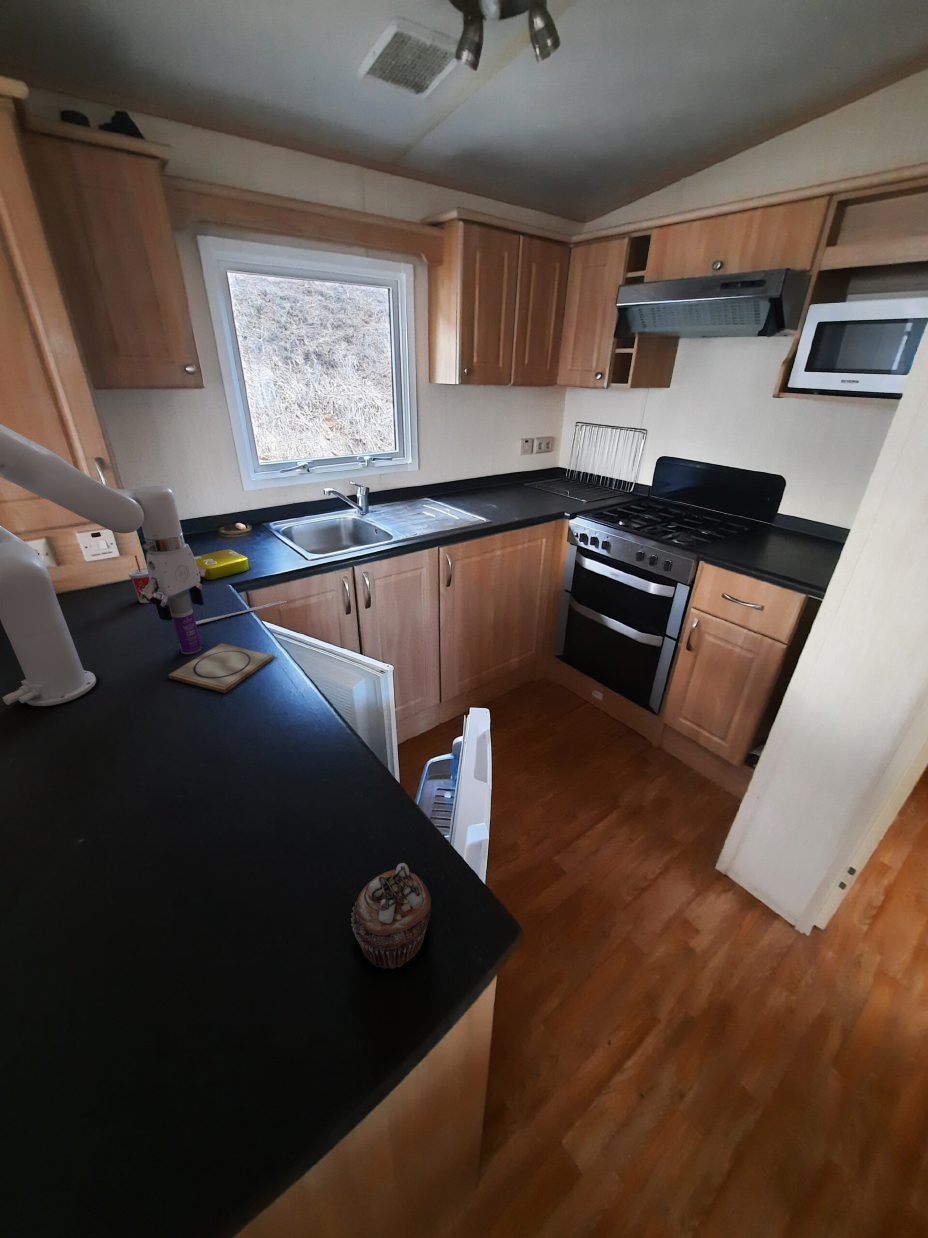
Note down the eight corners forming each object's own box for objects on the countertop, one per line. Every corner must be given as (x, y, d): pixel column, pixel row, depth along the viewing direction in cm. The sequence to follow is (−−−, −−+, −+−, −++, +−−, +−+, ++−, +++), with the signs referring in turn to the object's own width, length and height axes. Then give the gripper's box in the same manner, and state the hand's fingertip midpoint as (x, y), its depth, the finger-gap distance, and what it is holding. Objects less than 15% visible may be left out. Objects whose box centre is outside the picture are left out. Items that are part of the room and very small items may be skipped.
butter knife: (187, 621, 139) (189, 625, 137) (284, 599, 154) (287, 602, 152) (187, 623, 139) (190, 626, 137) (284, 601, 154) (288, 604, 152)
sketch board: (225, 693, 110) (224, 688, 110) (169, 678, 115) (168, 673, 114) (273, 658, 124) (273, 654, 123) (222, 646, 128) (221, 642, 128)
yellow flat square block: (251, 569, 177) (249, 556, 175) (208, 581, 167) (205, 567, 165) (231, 559, 186) (228, 547, 184) (189, 570, 176) (186, 556, 173)
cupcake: (402, 886, 70) (399, 835, 65) (446, 941, 63) (446, 888, 59) (339, 931, 64) (332, 878, 60) (381, 996, 58) (376, 942, 53)
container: (193, 655, 124) (179, 599, 118) (176, 653, 125) (161, 597, 118) (205, 646, 128) (192, 591, 122) (189, 644, 129) (175, 590, 122)
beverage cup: (164, 598, 154) (152, 554, 148) (144, 605, 149) (131, 560, 143) (151, 594, 157) (139, 551, 150) (131, 601, 152) (118, 557, 145)
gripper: (144, 556, 106) (164, 629, 114) (208, 534, 121) (222, 600, 128) (118, 552, 108) (139, 623, 116) (184, 531, 123) (199, 596, 131)
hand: (182, 611), depth 122 cm, fingers open, 9 cm apart
